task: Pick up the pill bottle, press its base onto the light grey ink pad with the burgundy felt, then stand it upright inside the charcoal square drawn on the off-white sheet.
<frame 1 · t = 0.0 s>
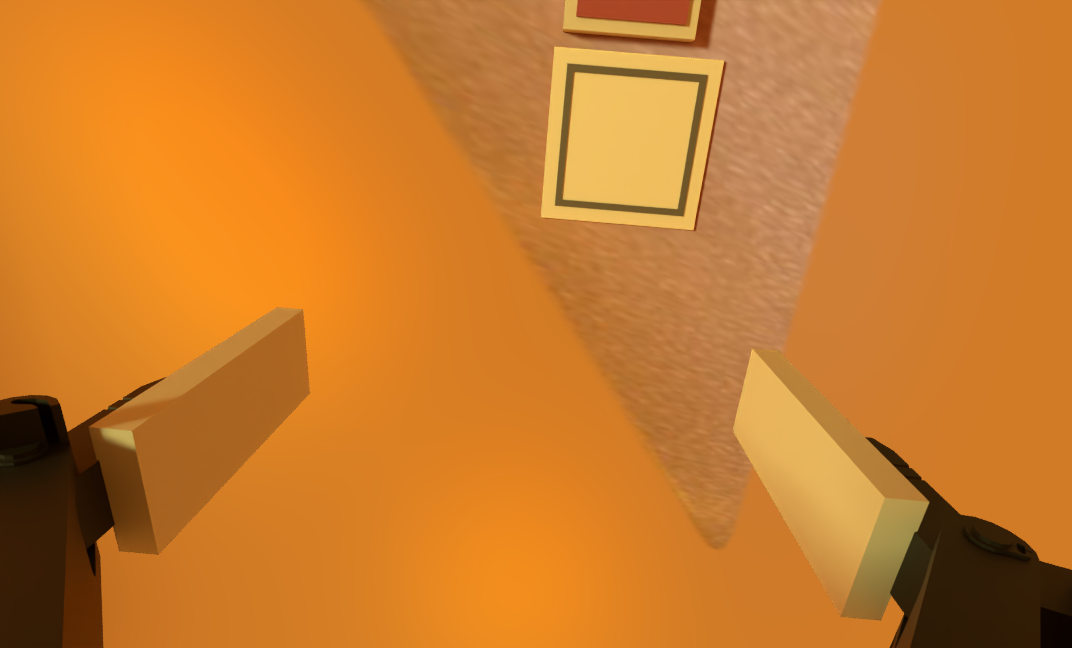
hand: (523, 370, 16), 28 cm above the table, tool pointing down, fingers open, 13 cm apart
paper sheet: (627, 143, 40), on the table
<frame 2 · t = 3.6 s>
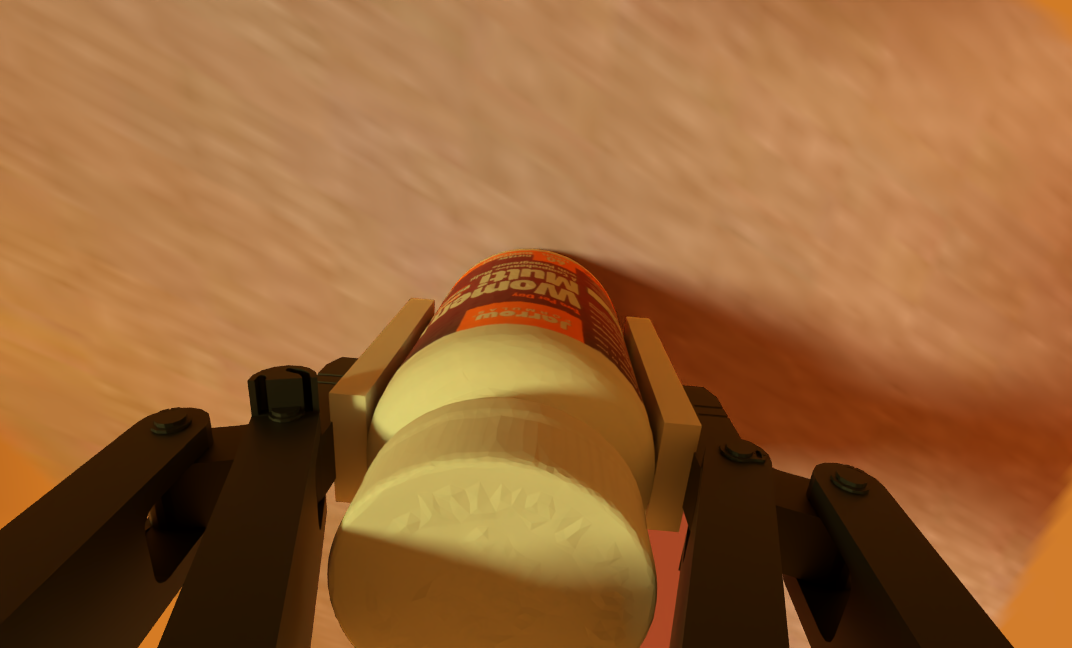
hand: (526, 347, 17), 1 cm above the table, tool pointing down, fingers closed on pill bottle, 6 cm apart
ink pad: (607, 563, 22), on the table
pill bottle: (529, 329, 19), on the table, touching gripper
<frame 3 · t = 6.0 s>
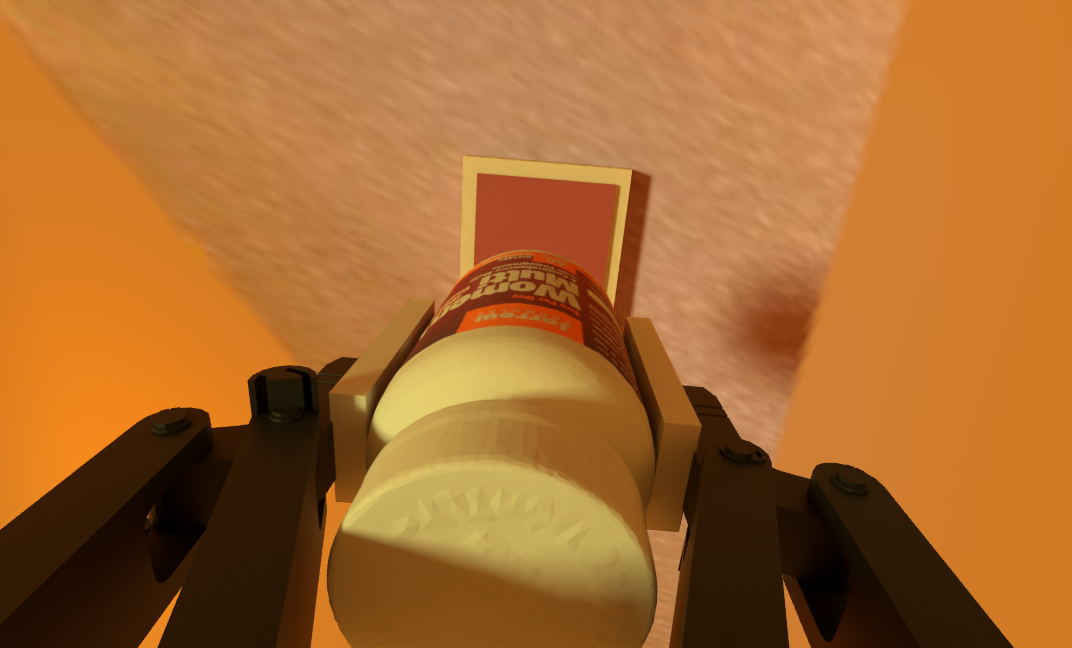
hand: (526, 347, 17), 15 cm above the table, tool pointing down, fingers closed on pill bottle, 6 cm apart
ink pad: (540, 250, 31), on the table
pill bottle: (529, 330, 19), point 13 cm above the table, touching gripper
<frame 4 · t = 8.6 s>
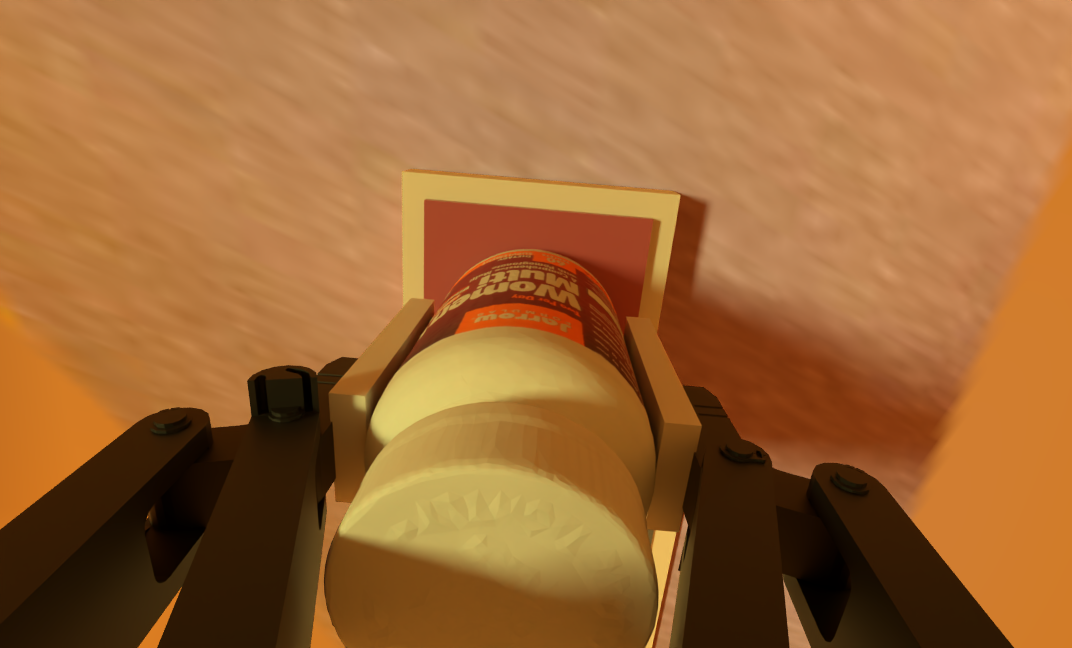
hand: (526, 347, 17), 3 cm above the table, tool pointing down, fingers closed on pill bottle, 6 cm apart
ink pad: (531, 316, 20), on the table
pill bottle: (529, 330, 19), point 1 cm above the table, touching gripper, ink pad
paper sheet: (533, 566, 24), on the table
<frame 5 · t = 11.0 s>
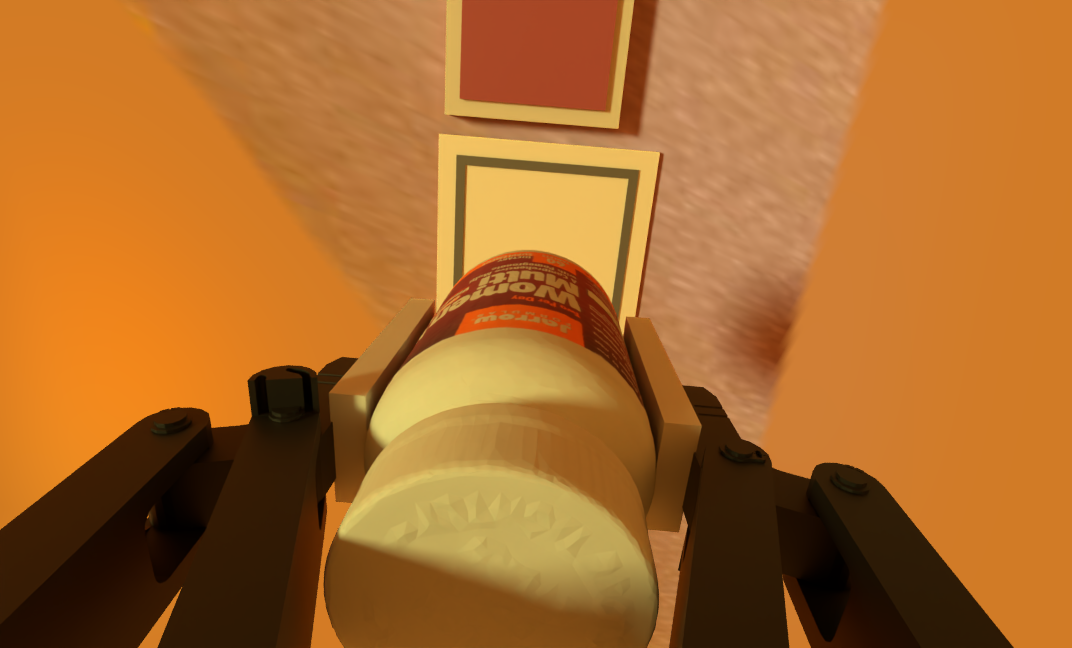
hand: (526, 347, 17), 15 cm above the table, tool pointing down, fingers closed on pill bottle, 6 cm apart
ink pad: (539, 16, 27), on the table
pill bottle: (529, 331, 19), point 13 cm above the table, touching gripper
paper sheet: (540, 251, 31), on the table
when the fingers open (3 cm above the table, at t = 13.4 s): pill bottle drops 1 cm, resting on paper sheet.
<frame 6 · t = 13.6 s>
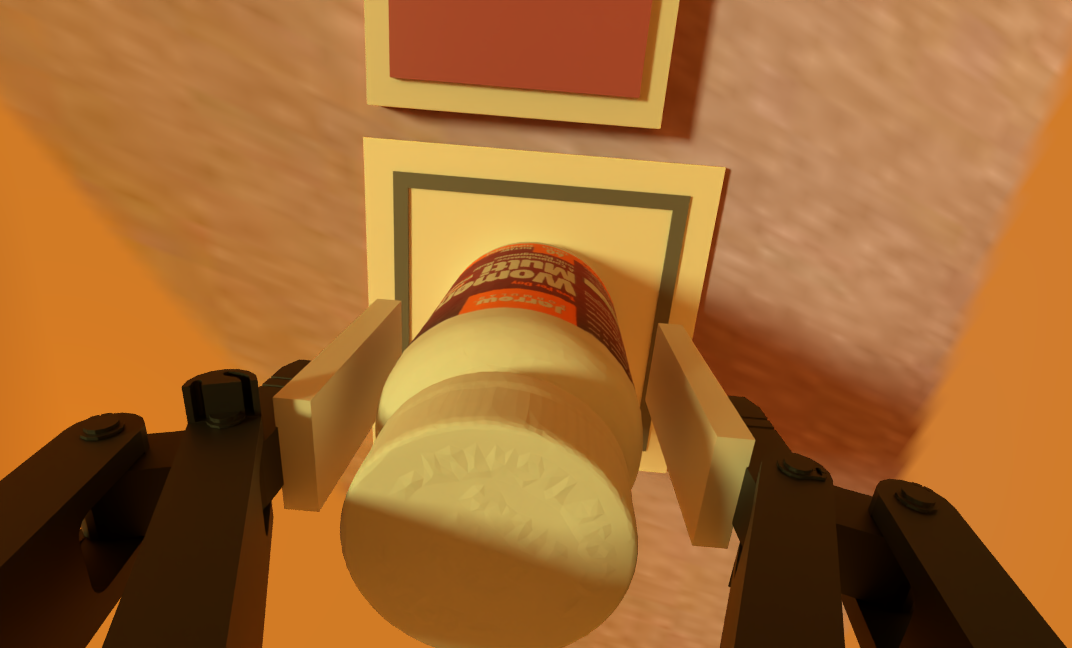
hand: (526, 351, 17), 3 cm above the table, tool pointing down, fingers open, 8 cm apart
pill bottle: (530, 319, 20), resting on paper sheet
paper sheet: (530, 320, 20), on the table
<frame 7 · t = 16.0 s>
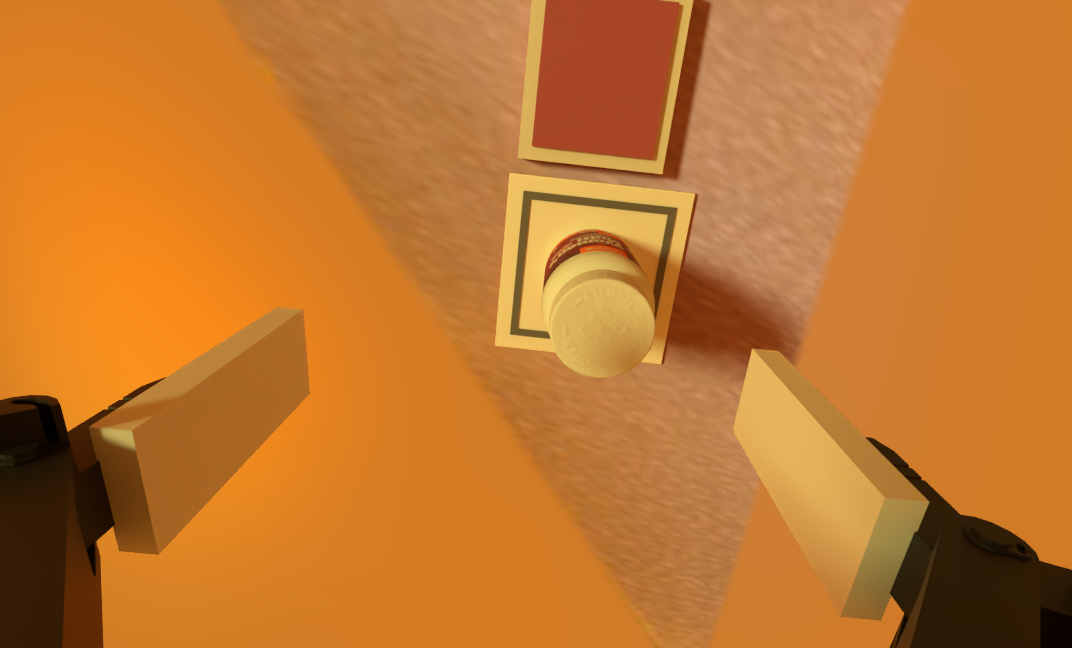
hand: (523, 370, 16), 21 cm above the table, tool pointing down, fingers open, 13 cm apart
ink pad: (600, 80, 32), on the table
pill bottle: (589, 272, 36), resting on paper sheet
paper sheet: (589, 273, 36), on the table
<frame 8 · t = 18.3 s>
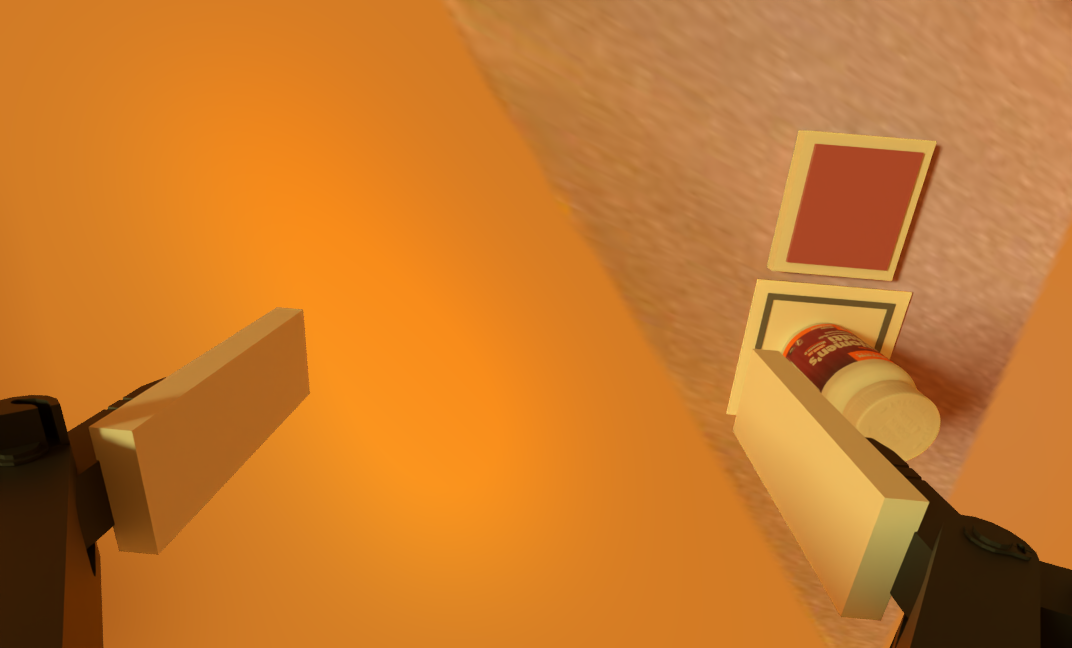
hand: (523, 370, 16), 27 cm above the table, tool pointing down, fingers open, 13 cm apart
ink pad: (842, 206, 39), on the table
pill bottle: (814, 354, 44), resting on paper sheet
paper sheet: (814, 355, 44), on the table
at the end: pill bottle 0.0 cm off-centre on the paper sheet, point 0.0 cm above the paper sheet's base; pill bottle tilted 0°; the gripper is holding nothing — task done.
